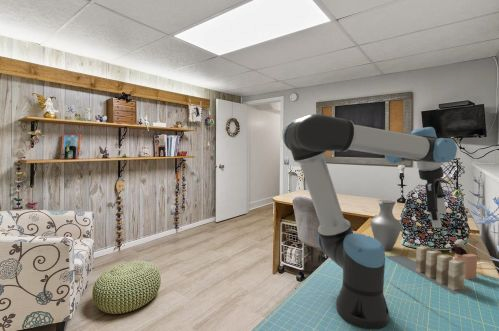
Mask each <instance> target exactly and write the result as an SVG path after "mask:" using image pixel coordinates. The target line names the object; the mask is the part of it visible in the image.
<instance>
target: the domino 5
mask: <svg viewBox="0 0 499 331" xmlns="http://www.w3.org/2000/svg"><path fill="white" fill-rule="evenodd" d="M462 261H465V262H466V263H465V280H472V279H477V268H478V267H477V266H478V255H477V254H474V253H467V254H465V255H462Z"/></svg>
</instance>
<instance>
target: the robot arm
mask: <svg viewBox="0 0 499 331" xmlns="http://www.w3.org/2000/svg"><path fill="white" fill-rule="evenodd" d="M282 140H283V143H284V145H285V147H286V148H287V149H288V150H289V151H290V153H291V154H292V158H293V160H294V162H295V163H297V164H299V165H300V168H301V171H302V174H303V177H304V180H305V184H306V186H307V189H308V191H309V195H310V198H311V201H312V204H313V207H314V209H315V212H316V215H317V219H318V222H319V225H318V227H317V231H318V235H317V242H318V243H317V244H318V247H319V248H320V250H321V251H322V253H323V254H324V255H325V256H326V257H328V258H329V259H330V260H331V261H333V262H334V263H335V264H336V265H338V266H339V267H340V268H341V269H342V285H341V288H340V290H339V292H338V295H337V298H336V301H335V303H336V306H335V308H336V311H337V313H338V315H339V316H340V317H341V318H342V319H344V320H345V321H346V322H348V323H349V324H352V325H353V326H357V327H360V328H363V329H367V330H368V329H370V330H377V329H383V328H384V327H386V326H387V325H388V324H389V320H390V311H389V308H388V305H387V301H386V298H385V294H384V285H385V267H386V266H385V265H386V255H385V252H386V250H384V247H383V245H382V244H381V243H380V242H379V241H378V240H377V239H375V238H374V236H370V235H366V234H364V233H354V231H353V228H352V225H351V222H350V221H349V220H347V219H346V218H344V215H343V212H342V209H341V204H340V202H339V199H338V196H337V193H336V190H335V187H334V184H333V180H332V177H331V173H330V171H329V168H328V165H327V162H326V158H325V156H326V153H327V152H341V153H345V152H347V151H348V150H349V151H357V152H363V153H369V154H374V155H375V154H376V155H384V157H385V158H386V160H387V162H389V163H390V164H398V163H402V162H405V161H407V162H416V166H417V169H418V175H419V176H418V177H419V179H421V180H422V181H426V183H425V186H424V187H425V194H426V205H427V206H426V207H427V209H426V212H427V213H429V217H430V221H431V225H432V228H433V229H441V228H442V227H443V226H442V221H441V216H440V214H447V209H446V203H445V198H446V194H445V192H444V189H443V186H442V183H441V180H440V179H441V178H443V177H444V170H443V167H442V163H444V164H445V163H450V162H451V161H454V159H455V158H456V155H457V151H458V146H457V144H456V143H455V141H454V140H453V139H451V138H447V137H446V138H443V137H439V138H438V136H437V134H436V129H435V128H434V127H433V126H427V127H421V128H416V129H414V130H412V131H411V132H410V133H404V132H400V131H399V132H397V131H392V130H386V129H381V128H375V127H370V126H364V125H360V124H354V122H353V121H352V120H350V119H344V118H339V117H334V116H331V115H325V114H317V113H313V114H308V115H306V116H302V117H299V118H295V119H293V120H292V121H290V122H289V123H287V125H286V126H285V129H284V130H283V135H282Z"/></svg>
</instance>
